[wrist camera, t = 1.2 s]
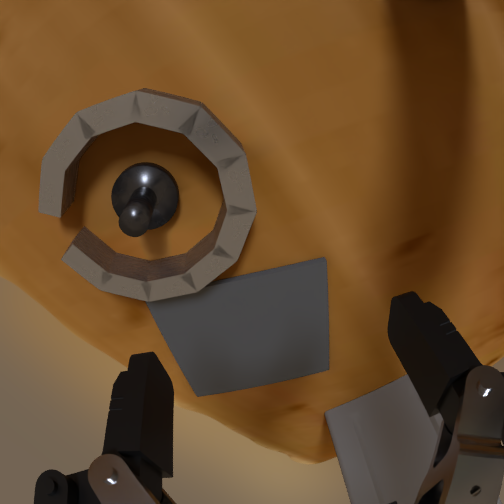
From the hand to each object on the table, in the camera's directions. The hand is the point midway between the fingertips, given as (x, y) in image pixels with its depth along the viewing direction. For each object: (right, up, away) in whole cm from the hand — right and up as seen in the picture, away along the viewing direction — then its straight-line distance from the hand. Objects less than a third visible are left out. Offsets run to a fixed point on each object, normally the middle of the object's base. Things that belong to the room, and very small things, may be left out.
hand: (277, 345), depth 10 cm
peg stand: (-9, +8, +14) cm, 18 cm away
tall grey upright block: (+22, -23, +38) cm, 50 cm away
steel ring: (-9, +8, +14) cm, 18 cm away
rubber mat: (-1, -6, +24) cm, 24 cm away
